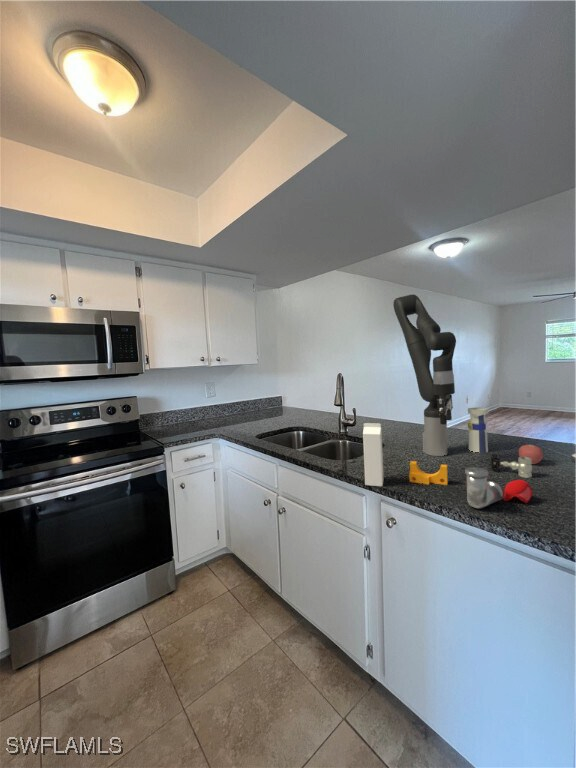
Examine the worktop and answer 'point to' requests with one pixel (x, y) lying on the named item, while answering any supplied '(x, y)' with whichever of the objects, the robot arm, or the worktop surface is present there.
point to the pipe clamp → (428, 475)
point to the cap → (518, 490)
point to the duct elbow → (481, 488)
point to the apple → (531, 453)
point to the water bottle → (477, 429)
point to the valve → (514, 465)
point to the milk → (373, 454)
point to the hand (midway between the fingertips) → (446, 422)
